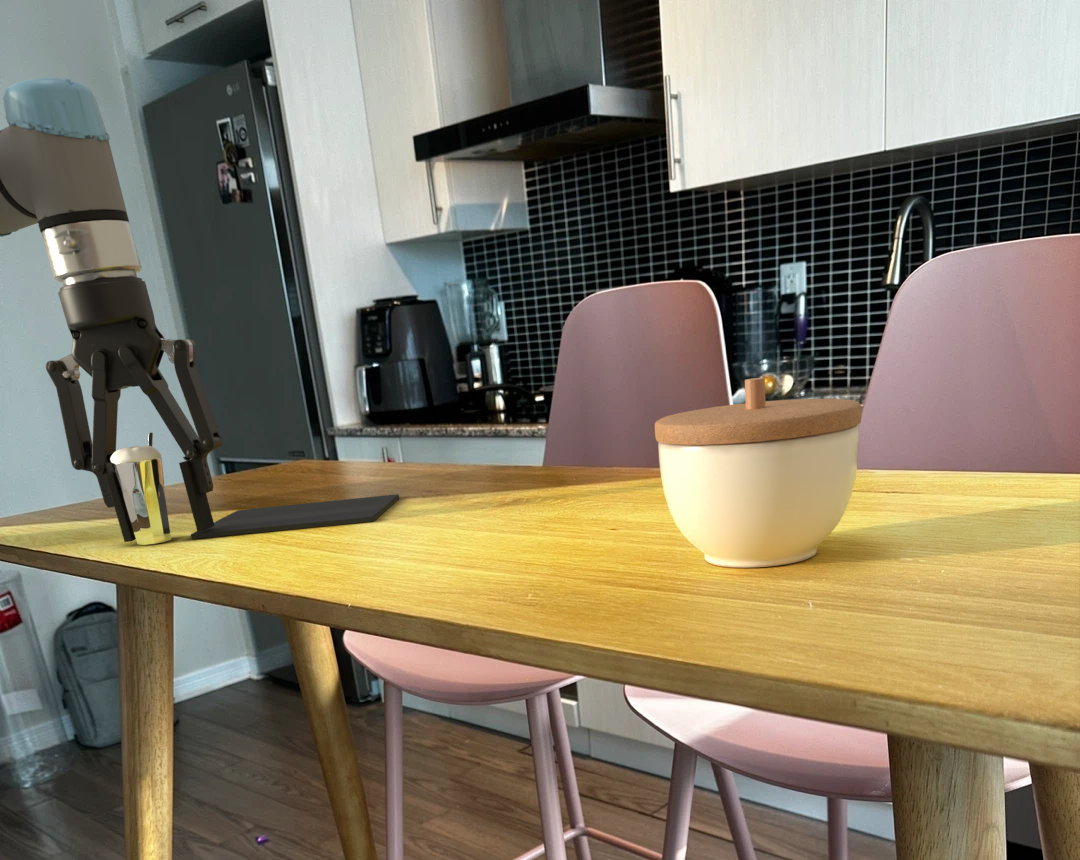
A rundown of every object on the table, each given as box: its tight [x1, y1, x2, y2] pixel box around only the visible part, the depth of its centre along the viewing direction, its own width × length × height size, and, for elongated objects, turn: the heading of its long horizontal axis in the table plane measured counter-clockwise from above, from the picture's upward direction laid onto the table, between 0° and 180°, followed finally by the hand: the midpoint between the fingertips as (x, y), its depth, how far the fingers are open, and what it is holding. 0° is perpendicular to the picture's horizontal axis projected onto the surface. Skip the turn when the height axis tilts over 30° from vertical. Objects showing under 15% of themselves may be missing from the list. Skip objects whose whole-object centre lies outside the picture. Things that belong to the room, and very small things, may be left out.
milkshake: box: [110, 432, 172, 546], centre depth 99 cm, size 4×5×10 cm
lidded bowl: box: [654, 377, 862, 569], centre depth 65 cm, size 13×13×11 cm
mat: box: [190, 493, 400, 540], centre depth 105 cm, size 18×14×1 cm
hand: (169, 533), depth 100 cm, fingers open, 7 cm apart
